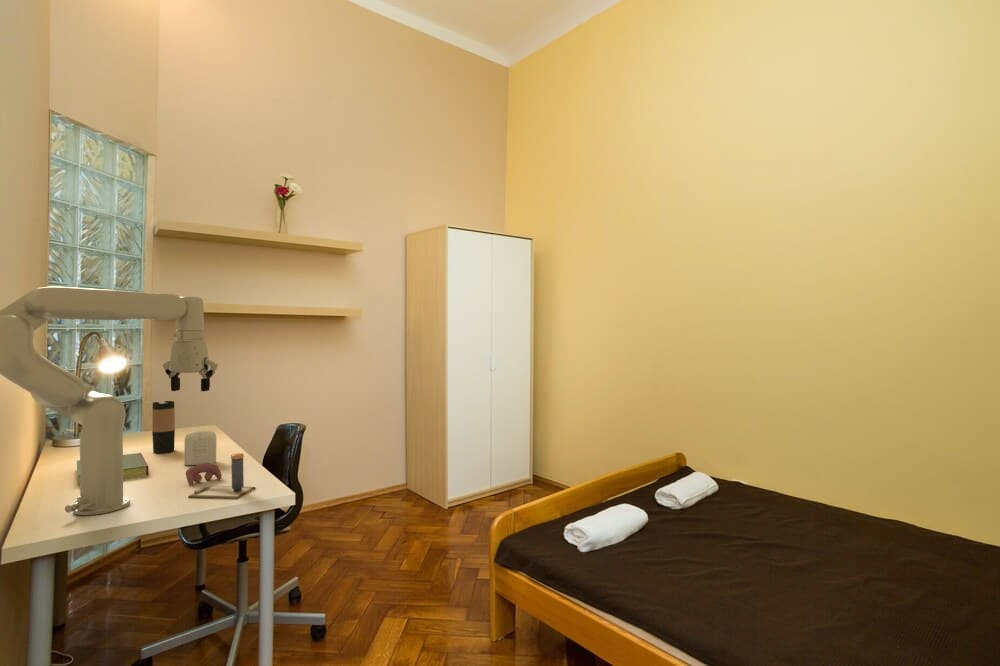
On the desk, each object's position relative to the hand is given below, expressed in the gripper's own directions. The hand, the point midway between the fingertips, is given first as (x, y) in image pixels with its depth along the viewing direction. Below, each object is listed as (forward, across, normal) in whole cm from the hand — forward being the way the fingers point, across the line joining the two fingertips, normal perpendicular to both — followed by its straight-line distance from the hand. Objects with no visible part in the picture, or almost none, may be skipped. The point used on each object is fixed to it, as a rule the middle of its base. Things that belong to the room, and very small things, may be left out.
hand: (190, 390), depth 164 cm
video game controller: (+31, 0, +6) cm, 31 cm away
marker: (+30, +18, -4) cm, 35 cm away
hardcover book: (+31, -39, +14) cm, 52 cm away
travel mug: (+31, -42, +44) cm, 68 cm away
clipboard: (+30, +14, -5) cm, 34 cm away
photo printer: (+31, -15, +27) cm, 43 cm away
